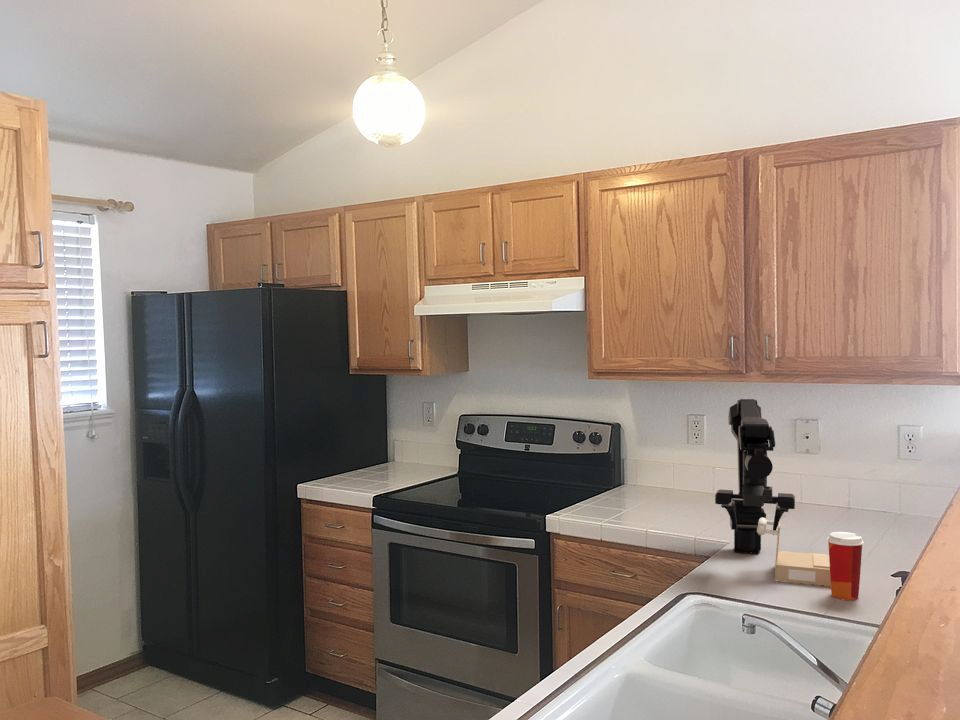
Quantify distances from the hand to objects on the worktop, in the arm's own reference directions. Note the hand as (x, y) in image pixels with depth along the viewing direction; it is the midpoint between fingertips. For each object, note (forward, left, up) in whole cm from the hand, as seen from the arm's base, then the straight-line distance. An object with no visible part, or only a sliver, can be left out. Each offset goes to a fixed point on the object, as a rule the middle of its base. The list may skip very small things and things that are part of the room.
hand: (754, 533), depth 205 cm
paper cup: (+20, -13, -10) cm, 26 cm away
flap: (+6, 0, -1) cm, 6 cm away
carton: (+13, 0, -10) cm, 16 cm away
